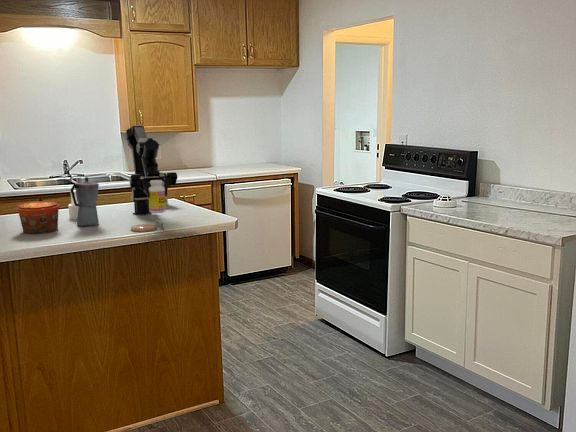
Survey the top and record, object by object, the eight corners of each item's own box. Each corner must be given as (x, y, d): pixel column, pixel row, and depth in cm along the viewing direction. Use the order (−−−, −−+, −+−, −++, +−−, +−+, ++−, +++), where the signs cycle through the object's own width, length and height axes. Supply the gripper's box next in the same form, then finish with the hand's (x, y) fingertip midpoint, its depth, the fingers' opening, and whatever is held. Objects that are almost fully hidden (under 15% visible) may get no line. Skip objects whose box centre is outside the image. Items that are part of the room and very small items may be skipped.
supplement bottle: (159, 214, 225) (157, 182, 222) (146, 212, 228) (144, 181, 225) (169, 210, 231) (167, 179, 228) (156, 209, 234) (154, 179, 231)
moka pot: (108, 221, 243) (105, 175, 239) (85, 229, 229) (81, 180, 225) (90, 220, 246) (86, 175, 242) (65, 227, 232) (61, 179, 228)
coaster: (125, 230, 225) (125, 228, 225) (140, 225, 235) (140, 223, 234) (147, 232, 222) (146, 230, 222) (161, 227, 231) (160, 225, 231)
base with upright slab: (94, 217, 253) (92, 190, 251) (75, 220, 247) (73, 193, 245) (84, 214, 259) (82, 188, 257) (65, 217, 253) (63, 191, 251)
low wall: (155, 225, 235) (155, 219, 235) (157, 225, 236) (157, 219, 235) (161, 229, 227) (161, 223, 226) (163, 229, 227) (163, 223, 226)
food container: (18, 236, 217) (15, 209, 215) (19, 228, 231) (16, 202, 229) (62, 232, 223) (60, 206, 221) (61, 225, 238) (58, 199, 236)
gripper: (170, 176, 244) (177, 205, 237) (125, 179, 236) (132, 209, 229) (173, 160, 236) (181, 190, 228) (128, 162, 228) (134, 193, 220)
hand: (157, 196), depth 227 cm, fingers closed on supplement bottle, 7 cm apart
